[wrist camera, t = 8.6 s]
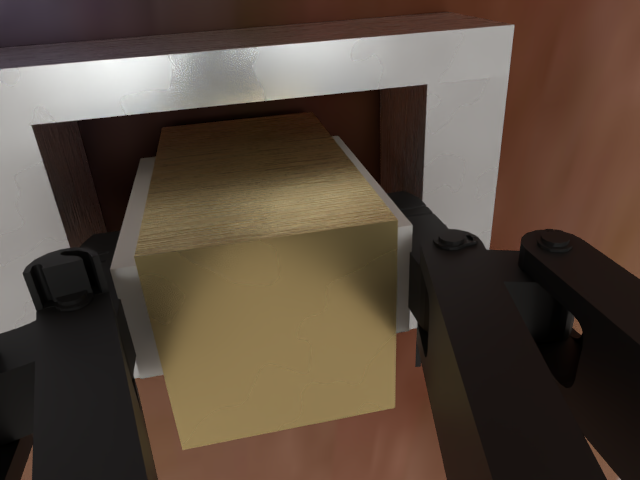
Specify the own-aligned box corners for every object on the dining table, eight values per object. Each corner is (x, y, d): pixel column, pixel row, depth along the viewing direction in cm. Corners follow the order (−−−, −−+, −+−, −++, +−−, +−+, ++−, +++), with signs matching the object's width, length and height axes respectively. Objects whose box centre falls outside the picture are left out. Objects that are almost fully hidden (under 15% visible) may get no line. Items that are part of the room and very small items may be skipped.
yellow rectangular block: (162, 127, 16) (133, 257, 9) (311, 111, 16) (398, 219, 9) (187, 260, 18) (182, 449, 11) (320, 240, 18) (394, 408, 11)
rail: (-681, 103, 12) (-1023, 157, 9) (448, 12, 17) (514, 24, 13) (-409, 390, 17) (-569, 504, 13) (434, 258, 21) (481, 316, 18)
